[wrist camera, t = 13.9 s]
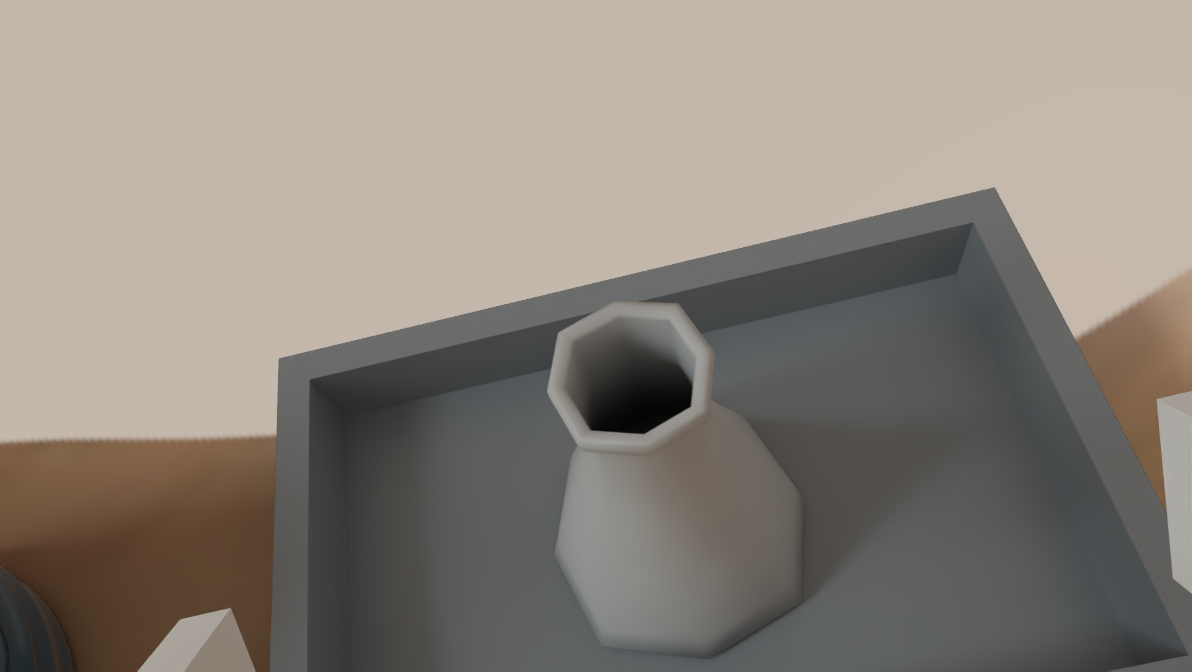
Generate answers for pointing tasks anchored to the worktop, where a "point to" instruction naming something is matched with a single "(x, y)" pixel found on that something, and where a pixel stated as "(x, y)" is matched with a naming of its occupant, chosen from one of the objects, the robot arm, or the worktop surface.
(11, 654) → the canister
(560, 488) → the charcoal tray
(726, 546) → the flask
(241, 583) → the worktop surface
